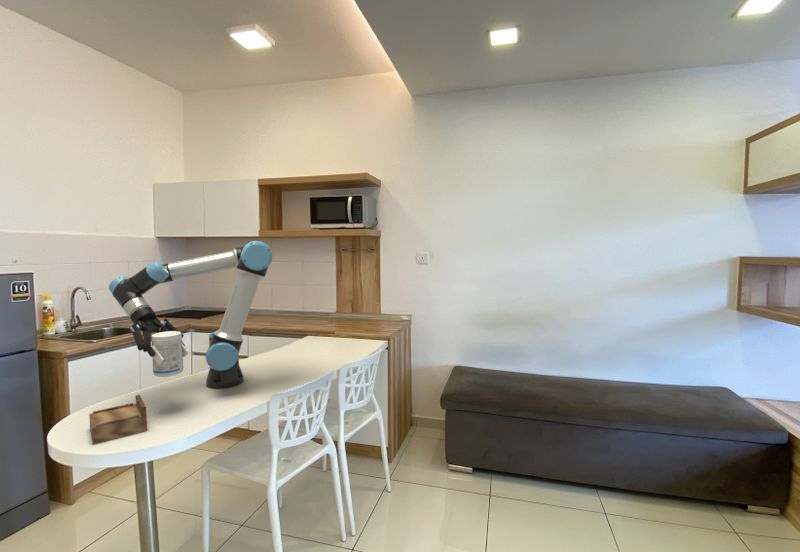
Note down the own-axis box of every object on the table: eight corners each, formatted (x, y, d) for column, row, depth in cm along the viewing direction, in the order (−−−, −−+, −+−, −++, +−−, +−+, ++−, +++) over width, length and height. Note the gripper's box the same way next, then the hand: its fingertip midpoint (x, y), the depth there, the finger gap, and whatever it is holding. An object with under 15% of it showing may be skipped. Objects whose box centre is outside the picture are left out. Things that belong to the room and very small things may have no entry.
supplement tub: (161, 369, 147) (159, 331, 146) (188, 369, 148) (186, 330, 147) (147, 378, 138) (145, 336, 137) (176, 377, 139) (174, 336, 138)
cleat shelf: (140, 416, 139) (139, 394, 138) (147, 430, 128) (146, 406, 128) (90, 428, 130) (88, 404, 129) (92, 444, 119) (91, 418, 119)
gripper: (162, 314, 157) (194, 357, 153) (104, 324, 136) (139, 374, 132) (171, 301, 155) (204, 344, 151) (114, 310, 134) (150, 359, 130)
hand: (174, 358), depth 142 cm, fingers closed on supplement tub, 10 cm apart
